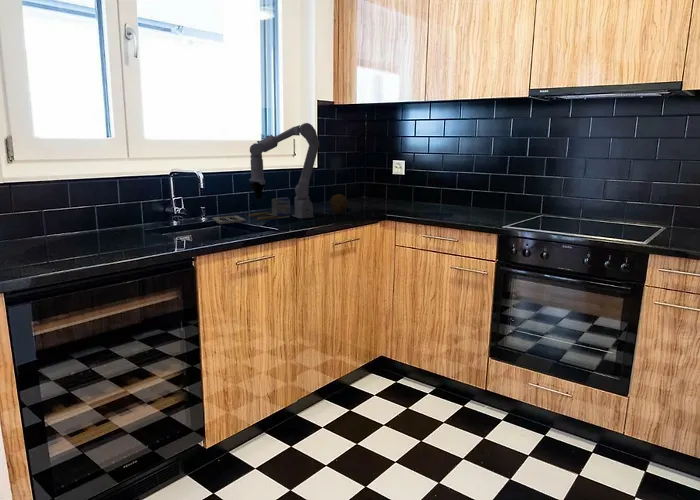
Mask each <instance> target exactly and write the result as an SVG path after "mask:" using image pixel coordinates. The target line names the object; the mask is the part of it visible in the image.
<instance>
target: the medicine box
mask: <svg viewBox="0 0 700 500" xmlns="http://www.w3.org/2000/svg"><path fill="white" fill-rule="evenodd" d="M271 214H272V215H271V216H278V217H281V216H282V217H284V216H291V198H289V197H279V198H277V197H276V198H271Z"/></svg>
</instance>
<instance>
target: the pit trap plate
mask: <svg viewBox="0 0 700 500" xmlns="http://www.w3.org/2000/svg"><path fill="white" fill-rule="evenodd" d="M230 218H232V219H230ZM234 218H235V219H234ZM212 219H213V220H215V221H216V222H215V221H214V222H215V223H217V224H219V225H224V224H234V222H236V223H243V222H242V221H247V219H245V218H243V217H241V216H239V215H229V216H217V217H216V216H215V217H211V220H212ZM220 219H221V220H220ZM225 219H226V220H225ZM236 219H237V220H236ZM213 220H212V221H213ZM227 220H228V221H227Z"/></svg>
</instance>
